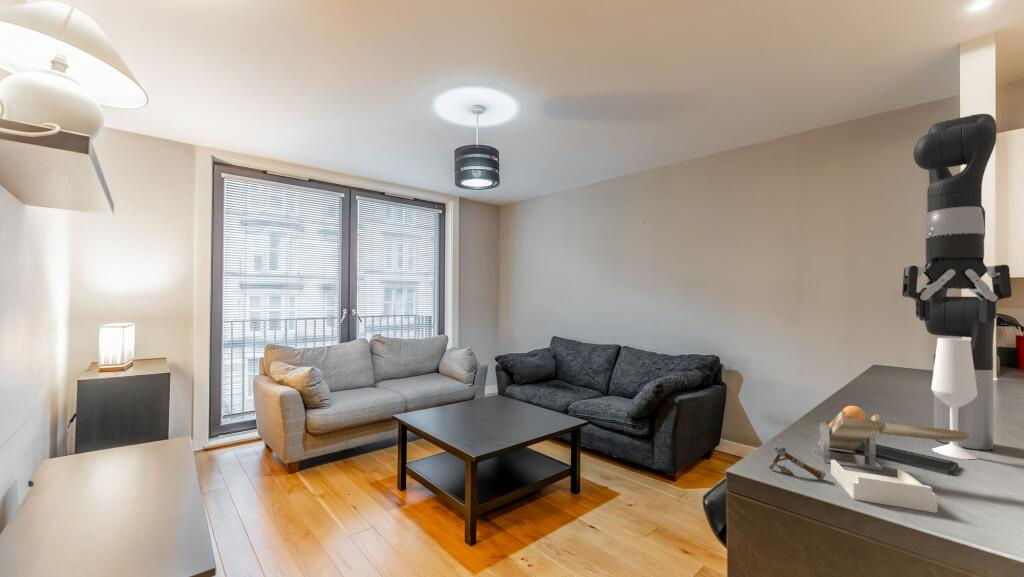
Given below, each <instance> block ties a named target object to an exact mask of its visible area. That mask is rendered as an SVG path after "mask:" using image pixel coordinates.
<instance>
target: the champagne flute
mask: <svg viewBox="0 0 1024 577" xmlns="http://www.w3.org/2000/svg"><path fill="white" fill-rule="evenodd" d="M936 341H937V342H936V348H935V353H936V356H935V364H934V363H933V372H932V380H931V391H932V393H933V395H934V394H935V395H936V396H937V397H938V398H939V399H940V400H941V401H942V402H944V403H945V404H946V405H948V406H950V430H956V431H958V407H962V406H964V405H966V404H968V403H969V402H971V401H973V400H974V399H975V398H976V396H977V394H978V393H977V386H976V379H975V372H974V364H973V357H972V350H971V343H970V342H971V339H967V338H966V339H965V338H956V337H955V338H953V337H937V340H936ZM932 450H933V451H932ZM931 451H932V452H935V453H936V452H937V453H936V454H939V455H942V456H945V457H950V458H954V459H961V460H968V459H975V458H976V457H977V456H975V455H974V454H972V453H971V452H970V451H968V450H967V449H965V448H964V447H960V446H958V442H951V441H950V444H947V443H946V444H945V445H941V446H937V447H934V448H931Z"/></svg>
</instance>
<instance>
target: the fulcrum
mask: <svg viewBox="0 0 1024 577" xmlns="http://www.w3.org/2000/svg"><path fill="white" fill-rule="evenodd" d="M819 426H820V434H819V439H820V440H819V441H820V447H819V449H814V453H815V455H817V456H818V458H819V459H820V460H821V461H822V462H823V463H826V464H831V460H835V461H836V462H837V463H838V464H839V465H840V466H847V467H853V468H860V469H867V470H876V471H881V472H883V470H884V467H883V466H881V465H880V464H879V463H878V462H877V460H876V459H877V458H876V444H877V442H876V440H877V439H876V436H877V434H876V432H877V431H876V432H875V433H874V434H873V435H871V436H870V437H869V438H867V439H866V440H865V441H864V442H865V455H861V454H860V455H859V454H852V453H844V452H835V451H830V448H829V440H830V426H828V425H827V424H826V423H823V422H820V424H819Z"/></svg>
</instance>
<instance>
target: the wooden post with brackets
mask: <svg viewBox="0 0 1024 577" xmlns="http://www.w3.org/2000/svg"><path fill="white" fill-rule="evenodd" d="M773 450H774V451H775V453H777V455H776V456H775V457H774V459H773V460H772V461H771V462H770V465H769V466H768V468H769V469H771V470H773V469H774V468H775V466H776V467H777V468H778V469H780V472H781V473H782V472H783V473H784V474H786V473H787V474H786V475H790V474H793V475H794V473H793V471H791V470H792V469H790V468H787V467H786V465H784V464H783V465H781V464H778V462H781V461H786V460H789V461H790V463H792V464H794V465H796V466H798V467H799V468H800V469H803V470H805V471H806V472H808V473H810V474H811V475H813V476H814V477H815V478H816V479H817V481H818V482H819V483H822V482H823V480H824V478H825V477H826V475H827V473H826V470H824V469H822V470H820V469H816V468H815V467H812V466H810V465H808V464H807V463H805V461H802V460H801V459H799V458H798V457H797V458H796V456H794V455H792V454H789V452H787V451H786V448H785V447H782V448H781V447H780V446H774V447H773ZM781 456H782V457H783V458H781Z"/></svg>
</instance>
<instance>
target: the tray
mask: <svg viewBox="0 0 1024 577" xmlns="http://www.w3.org/2000/svg"><path fill="white" fill-rule="evenodd" d="M896 470H897V472H896V473H897V477H893V476H886V475H880V474H873V473H868V472H867V473H866V472H860V471H854V470H847V469H846V470H845V469H844V468H843V466H842V465H839V464H838V463H837V462H836V461H835V460H831V463H830V474H831V475H832V477H833V478H834V479H835V480H836V481H837V482H838V483H839V484H840V486H841V487H842V488H843V489H844V490H845V491H846V493H847V494H848V495H849V496H850V497H851V498H852V499H853V500H858V501H862V502H868V503H875V504H881V505H886V506H893V507H897V508H903V509H904V508H905V509H910V510H917V511H923V512H930V513H935V514H938V495H937V494H936V493H934V492H933V488H932V487H931V486H930V485H927V484H926V485H924V484H923V483H921V482H920V481H918V479H916V478H914V477H913V476H912V475H910V474H909V473H908V472H906V471H905V470H903V469H902V468H897V469H896Z"/></svg>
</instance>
